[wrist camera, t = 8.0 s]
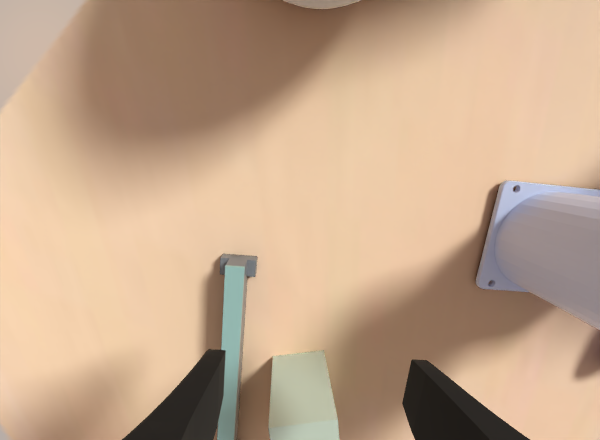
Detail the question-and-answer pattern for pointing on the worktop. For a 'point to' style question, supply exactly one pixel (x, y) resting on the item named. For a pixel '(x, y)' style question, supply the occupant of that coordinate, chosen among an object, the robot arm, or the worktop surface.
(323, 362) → the soap box
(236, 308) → the rail
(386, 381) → the worktop surface
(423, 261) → the worktop surface
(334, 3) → the decorative egg
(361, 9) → the worktop surface
